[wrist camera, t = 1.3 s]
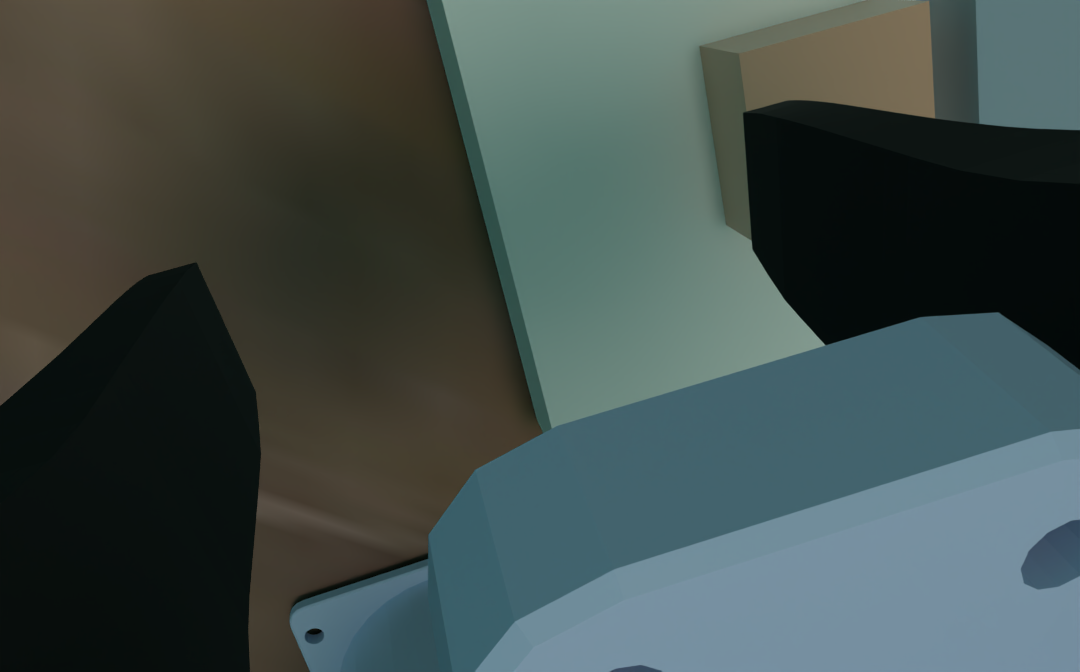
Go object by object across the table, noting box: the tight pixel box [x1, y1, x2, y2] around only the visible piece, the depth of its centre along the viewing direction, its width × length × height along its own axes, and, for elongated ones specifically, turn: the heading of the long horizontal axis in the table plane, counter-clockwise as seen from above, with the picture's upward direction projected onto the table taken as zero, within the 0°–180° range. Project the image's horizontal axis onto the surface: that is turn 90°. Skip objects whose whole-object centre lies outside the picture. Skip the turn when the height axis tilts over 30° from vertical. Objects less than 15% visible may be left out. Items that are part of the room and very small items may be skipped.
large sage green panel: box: [427, 0, 865, 433], centre depth 22 cm, size 14×16×3 cm
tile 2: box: [918, 0, 1080, 130], centre depth 20 cm, size 4×4×2 cm
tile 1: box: [699, 0, 935, 241], centre depth 19 cm, size 4×4×2 cm
